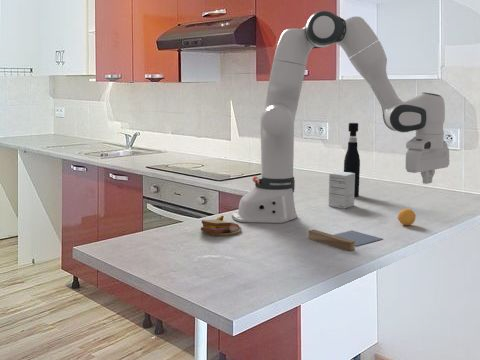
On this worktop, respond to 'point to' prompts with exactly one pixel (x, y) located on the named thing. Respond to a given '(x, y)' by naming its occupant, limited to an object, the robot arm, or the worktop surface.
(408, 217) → the ball
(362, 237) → the slate square
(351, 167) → the wine bottle
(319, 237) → the rail
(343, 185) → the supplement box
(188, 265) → the worktop surface
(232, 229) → the toy sandwich meal
